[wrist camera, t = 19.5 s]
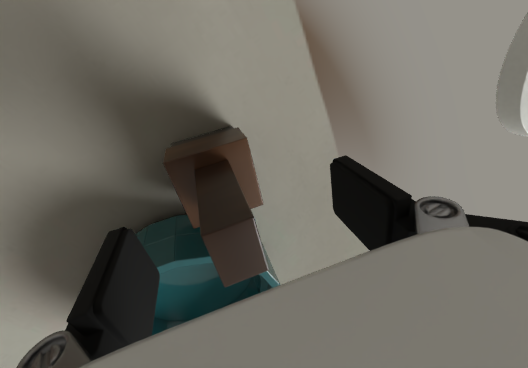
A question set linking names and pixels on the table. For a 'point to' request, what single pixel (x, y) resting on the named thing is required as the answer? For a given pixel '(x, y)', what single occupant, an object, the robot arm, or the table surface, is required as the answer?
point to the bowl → (191, 274)
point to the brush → (220, 199)
